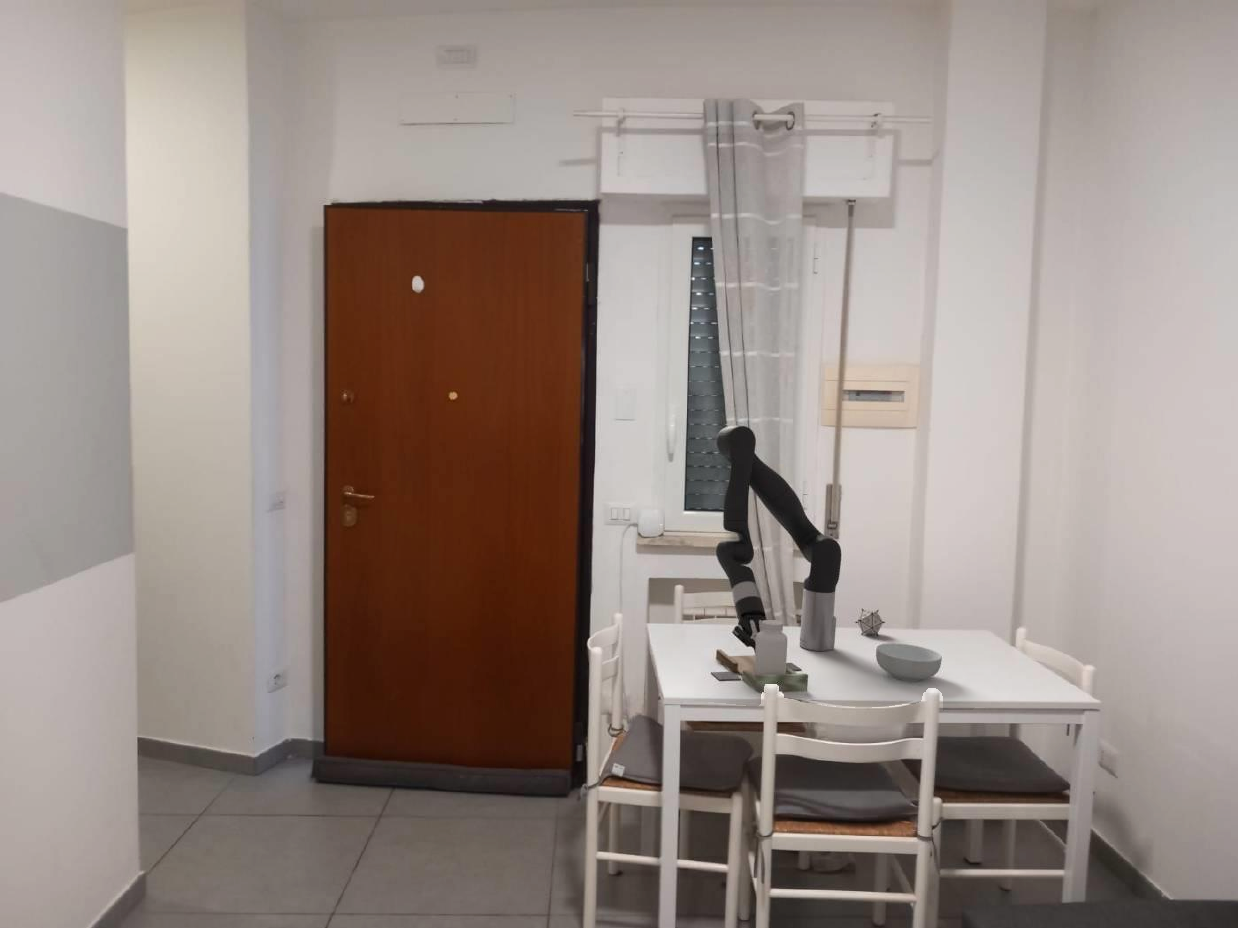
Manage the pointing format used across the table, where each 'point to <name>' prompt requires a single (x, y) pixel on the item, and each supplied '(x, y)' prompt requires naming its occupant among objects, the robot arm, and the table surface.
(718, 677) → the lane
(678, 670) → the table surface
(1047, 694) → the table surface
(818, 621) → the robot arm
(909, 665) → the cereal bowl
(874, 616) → the spiked polyhedron ball
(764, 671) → the pill bottle
